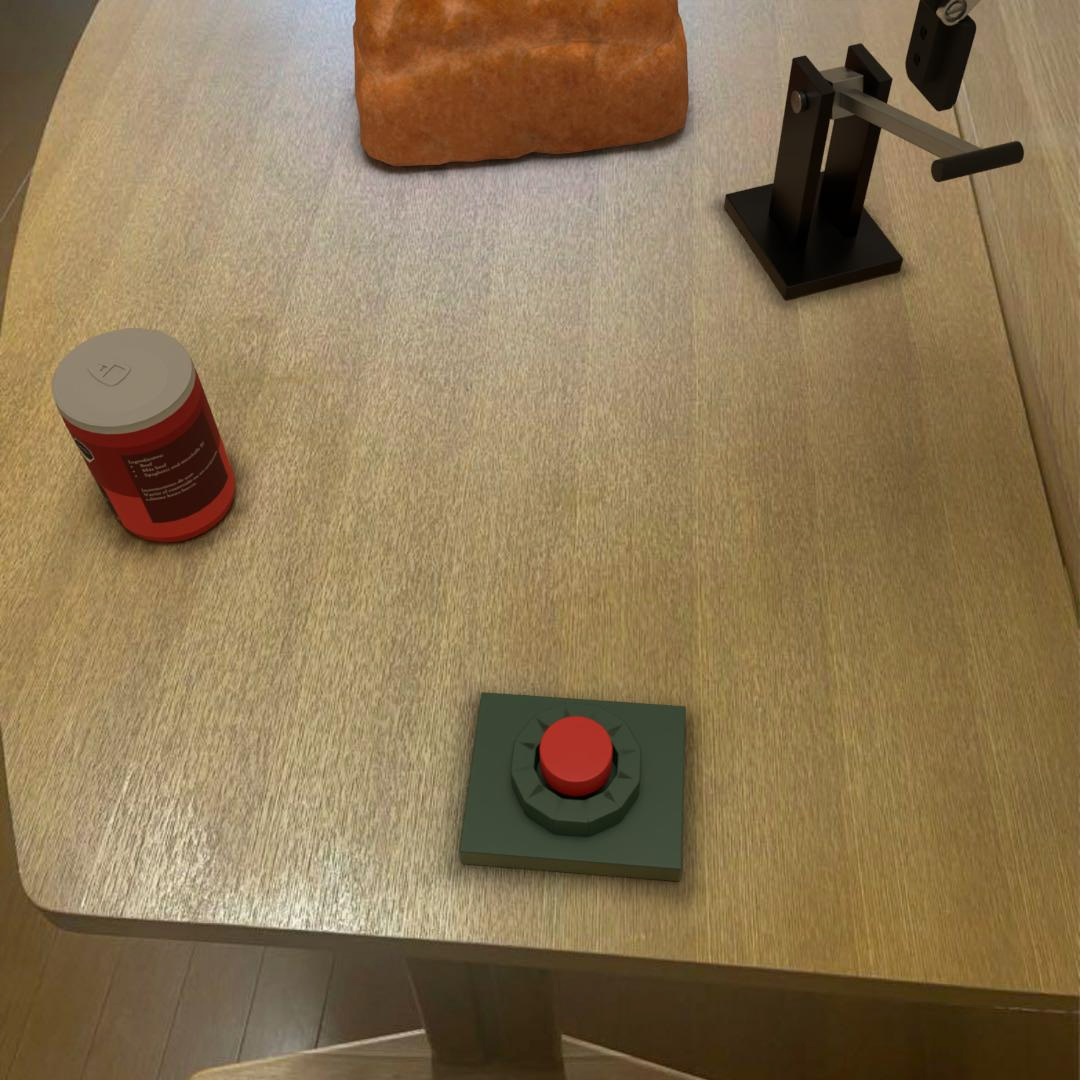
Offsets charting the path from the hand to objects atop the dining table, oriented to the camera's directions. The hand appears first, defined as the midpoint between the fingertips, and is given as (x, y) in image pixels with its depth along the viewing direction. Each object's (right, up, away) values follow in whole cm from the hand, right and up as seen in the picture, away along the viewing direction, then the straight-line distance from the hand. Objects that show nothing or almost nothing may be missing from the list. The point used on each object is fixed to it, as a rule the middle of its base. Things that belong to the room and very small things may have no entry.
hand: (1028, 71), depth 52 cm
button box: (-20, -34, +10) cm, 40 cm away
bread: (-23, +14, +46) cm, 53 cm away
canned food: (-44, -18, +23) cm, 53 cm away
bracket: (-2, +2, +36) cm, 36 cm away
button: (-20, -32, +8) cm, 38 cm away
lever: (0, +4, +20) cm, 21 cm away
